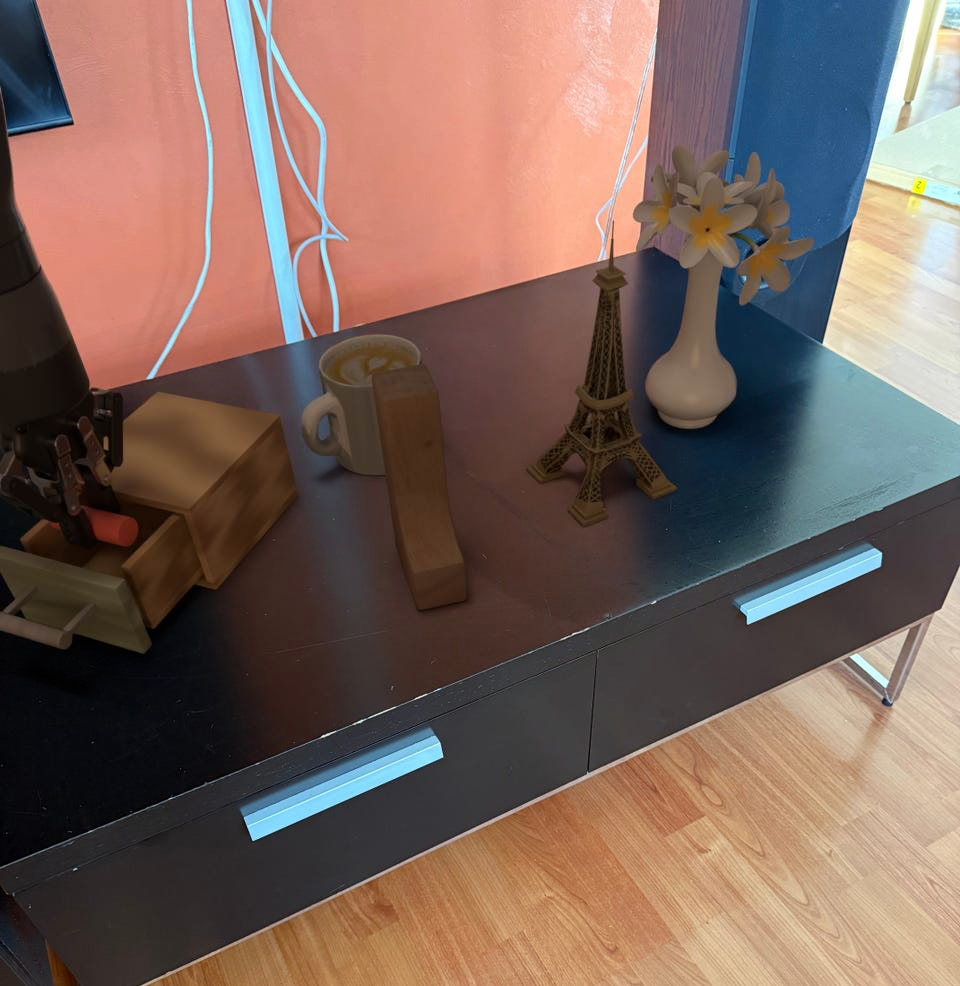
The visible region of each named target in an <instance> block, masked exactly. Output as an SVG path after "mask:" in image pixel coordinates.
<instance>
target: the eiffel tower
mask: <svg viewBox="0 0 960 986" xmlns="http://www.w3.org/2000/svg"><path fill="white" fill-rule="evenodd" d="M614 229H615V220H612V226H611V238H610V247H609V249H610V250H609V258H608V266H606V267H603V268H600V269H597V270H595V273H596V276H595V277H594V278H593V279H592V280H591V282H593V283H594V284H595V285H596V286H597V287H599V295H598V300H597V307H596V312H595V318H594V325H593V332H592V338H591V343H590V349H589V354H588V359H587V365H586V371H585V374H584V375H585V376H584V382H583V384H578V385H577V386H576V388H575V391H574V393H575V394H576V396H577V398H579V399H578V403H577V406H576V408H575V411H574V415H573V417H572V418H571V420H570V421H569V423H567V424H563V428H564V430H565V432H564V433H563V434H562V435H561V437H559V438H558V439H557V440H556V441H555V442H554V443H553V444H552V445H551V446H550V447H549V448H548V449H547V450H546V451H545V452H544V453H543V454H541V456H539V457H538V459H537V460H536V462H535V463H533V464H531V465H528V466H525V470H526V472H527V473H528V474H529V475H530V476H531V477H532V478H533V479H534V480H535V481H536V482H537V483H538V484H540V485H541V484H544V483H547V482H549V481H552V480H555V479H557V478H560V477H562V476H565V469H564V468H563V466H564V465H565V464H566V463H567V462H568V460H569V459H570V458H571V457H572V456H573V455H574V454H577V455H578V456H579V458H580V459H581V461H582V462H583V463H584V465H585V467H586V468H587V471H586V473H585V476H584V478H583V480H582V483H581V485H580V487H579V489H578V492H577V495H576V496H575V499H574V503H572V504H571V507H568V508H567V513H569V515H570V516H571V517H572V518H574V519H575V520H576V521H577V522H578V523H579V525H580V526H581V527H583V528H585V527H587V526H591V525H592V524H594V523H598V522H600V521H603V520H606V519H608V518H609V513H608V512H607V508H605V507H604V500H603V499H604V497H603V483H602V482H603V481H602V471H603V470H604V469H605V468H606V467H607V466H609V465H610V464H611V463H612V462H614V461H615V460H618V459H625V460H626V461H628V462H629V463H630V465H631V466H632V468H633V469H634V471H635V472H636V474H637V476H639V478H636V486H637V487H638V488H639V489H640V490H641V491H642V492H644V493H645V494H646V495H647V496H648V497H649V498H650V499H652V500H653V501H654V500H656V499H659V498H661V497H664V496H666V495H669V494H672V493H674V492H676V491H677V490H678V487H677V486H676V485H675V484H674V483H672V482H671V481H670V480H669V479H668V478H666V476H665V474H664V472H663V471H662V470H661V468H660V467H659V465H657V463H656V462H655V460H654V459H653V458H652V457H651V455H650V454H649V452H648V451H647V450H646V449H645V447H644V446H643V445H642V444H641V442H640V439H641V438H642V437H643V434H642V433H640V432H638V431H637V429H636V426H635V425H634V423H633V418H632V412H631V408H630V404H629V403H630V401H631V400H632V399H634V398H635V395H634V392H633V389H632V388H630V387H628V386H627V384H626V371H625V370H626V369H625V358H624V357H625V356H624V346H623V331H622V329H623V328H622V316H621V315H622V314H621V313H622V311H621V297H620V295H621V294H620V289H621V288H624V287H626V286H627V285H629V282H628V281H627V279H626V278H625V275H627V273H626V271H623V270H621V269H620V268H619V267H617V266H616V265H614V262H615V261H614V258H615V257H614V256H615V255H614V241H615V239H614V232H615V231H614ZM616 413H617V414H616ZM590 414H591V415H590ZM589 415H590V417H589Z"/></svg>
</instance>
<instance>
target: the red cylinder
mask: <svg viewBox="0 0 960 986" xmlns="http://www.w3.org/2000/svg"><path fill="white" fill-rule="evenodd" d="M80 508H83V509H84V510H85V512H86V515H87V517H88V519H89V522H90V524H91V526H92V528H93V531H94V533H95V536H96V538H97V539H98V540H101V541H105V542H109V543H113V544H117V545H120V546H124V547H127V546H130V545H132V544H133V543H134V541H135V540H136V538H137V535H138V524H137V522H136V520H135V519H133V518H131V517H127V516H123V515H119V514H115V513H111V512H107V511H103V510H99V509H95V508H91V507H87V506H83V505H80ZM50 524H51V525H52V527H54V528H55V529H59V530H61V528H60V526H59V524H58V523H53V522H50Z"/></svg>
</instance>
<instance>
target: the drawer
mask: <svg viewBox="0 0 960 986" xmlns="http://www.w3.org/2000/svg"><path fill="white" fill-rule="evenodd" d="M76 493H77V496H78V499H79V502H80V505H83V506H87V507H89V504H88V502H87V500H86V497H85V495H84V493H83V490H81V489H76ZM117 501H118V503H119V506H120V513H119V515H123V516H127V517H131V518H133V519H135V520H136V522H137V524H138V535H137V538H136V540H135V541H134V543H133V544H132V545H130V546H127V547H124V546H120V545H117V544H113V543H109V542H105V541H101V540H98V539H97V540H98V543H97V544H96V545H95V546H94V547H93V548H92V549H88V548H84V547H81V546H77V545H74V544H70V543H69V542H68V541H66V539H65V537H64V534H63V532H62V530H59V529H55V528H54V527H52V525H51V524H50V522H49V521H48V520H44V519H40V521H38V523H36V524H35V525H34V526H33V527H32V528H30V529H29V530H28V531H27V532H26V533H25V534H23V536H21V537H20V539H19V541H20V542H21V544H22V547H23V548H24V550H25V551H21V550H18V549H14V548H11V547H7V546H3V545H0V574H1V576H2V578H3V580H4V582H5V584H6V585H7V588H8V589H9V591H10V592H11V594H12V597H13V598H14V600H13V601H12V602H11V603H10V604H9V605H8V606H6V607H5V608H4V609H3V610H2V611H0V631H1V632H4V633H8V634H11V635H14V636H17V637H21V638H23V639H28V640H30V641H34V642H37V643H41V644H42V645H47V646H50V647H53V648H56V649H60V650H67V649H68V648H69V647H70V646H71V645H72V643H73V635H74V634H75V635H78V636H83V637H86V638H89V639H92V640H94V641H95V640H96V641H99V642H103V643H104V644H105V643H106V644H109V645H113V646H116V647H118V648H122V649H126V650H130V651H132V652H136V653H139V654H142V655H144V654H145V653H147V651H148V650H149V649H150V648H151V647H152V645H153V642H152V640H151V638H150V636H149V634H148V630H147V629H146V628H149V629H152V630H154V629H156V628H157V627H158V626H159V624H160V623H161V622H162V621H163V619H165V618H166V616H167V615H168V614H169V613H170V612H171V611H172V610H173V609H174V607H176V605H177V604H178V603H179V602H180V600H182V598H183V597H184V596H185V595H186V594H187V593H188V592H189V591H190V590H191V588H192V587H193V586H194V585H195V583H196V581H197V580H198V579H199V578H200V577H201V576H202V575H203V574H204V572H203V569H202V566H201V563H200V560H199V557H198V554H197V551H196V548H195V545H194V542H193V540H192V537H191V534H190V531H189V528H188V525H187V522H186V519H185V516H184V514H180V513H176V512H172V511H168V510H164V509H160V508H156V507H151V506H147V505H143V504H139V503H135V502H131V501H126V500H122V499H118V498H117ZM20 611H21V612H22V615H23V616H24V618H23V617H20V616H16V614H17V613H18V612H20Z"/></svg>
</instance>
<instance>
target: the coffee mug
mask: <svg viewBox="0 0 960 986" xmlns="http://www.w3.org/2000/svg"><path fill="white" fill-rule="evenodd" d="M420 364H423V358H422V353H421V351H420V349H419V347H418V346H417V345H416V344H415V343H413V342H412V341H410V340H409V339H407V338H404V337H400V336H396V335H391V334H381V333H379V334H378V333H377V334H375V333H374V334H365V335H358V336H354V337H351V338H347V339H344V340H342V341H340V342H337V343H336V344H334V345H332V346H331V347H329V348H328V349H326V350H325V352H323V354H322V355H321V357H320V358H319V361H318V372H319V373H318V374H319V378H320V384H321V390H322V395H321V396H320V395H319V397H317V398H315V399H313V400H312V401H310V402H309V403H308V404H307V405H306V406H305V408H304V410H303V412H302V415H301V420H300V428H301V435H302V438H303V440H304V443H305V444H306V446H307V447H308V448H309V450H310V451H311V452H313V453H314V454H315V455H318V456H321V457H322V456H323V457H329V456H335V458H336V461H337V462H338V464H340V465H341V466H342V467H343V468H345V469H346V470H348V471H350V472H352V473H355V474H360V475H366V476H386V474H385V467H384V460H383V453H382V447H381V440H380V433H379V426H378V419H377V413H376V406H375V399H374V392H373V386H372V375H373V374H374V373H377V372H382V371H387V370H393V369H398V368H404V367H409V366H414V365H420ZM325 416H327V419H328V425H329V429H330V431H329V434H328V435H327V437H326V438H324V439H323V440H321V438H320V435H319V434H320V433H319V428H320V427H319V426H320V423H321V421H322V419H324V418H325Z"/></svg>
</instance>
